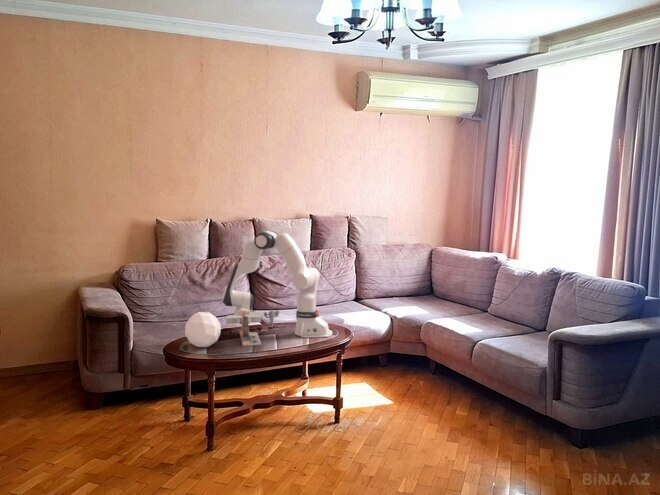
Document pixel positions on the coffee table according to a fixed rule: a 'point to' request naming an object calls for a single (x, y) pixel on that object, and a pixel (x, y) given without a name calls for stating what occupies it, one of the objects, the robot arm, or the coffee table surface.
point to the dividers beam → (245, 332)
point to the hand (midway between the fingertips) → (244, 322)
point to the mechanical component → (271, 316)
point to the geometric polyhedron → (202, 329)
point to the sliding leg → (242, 320)
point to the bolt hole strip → (254, 339)
